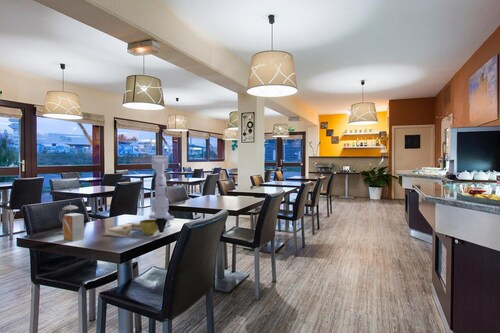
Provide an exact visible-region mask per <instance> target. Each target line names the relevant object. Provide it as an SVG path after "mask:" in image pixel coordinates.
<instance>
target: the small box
mask: <svg viewBox="0 0 500 333" xmlns="http://www.w3.org/2000/svg"><path fill="white" fill-rule="evenodd" d="M84 216H85V215H84V214H83V213H76V212H71V214H70V213H67V214H62V219H63V220H62V222H63V223H62V225H63V224H64V234H63V240H66V241H71V242H77V241H79V240H84V239H85V223H84V222H85V220H84V219H85V217H84Z"/></svg>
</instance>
